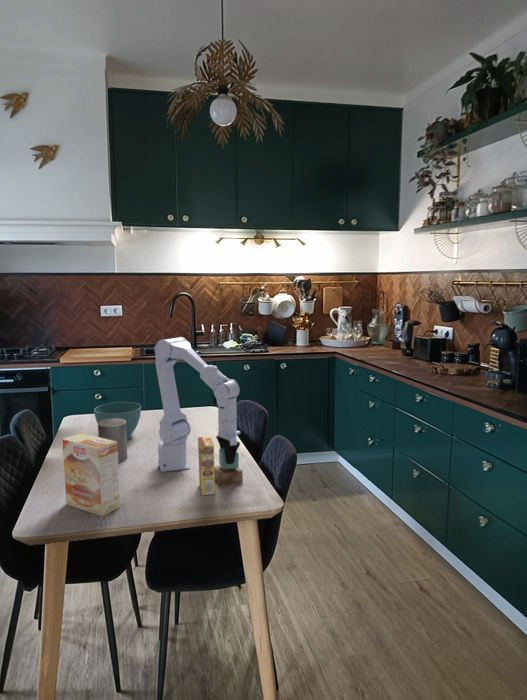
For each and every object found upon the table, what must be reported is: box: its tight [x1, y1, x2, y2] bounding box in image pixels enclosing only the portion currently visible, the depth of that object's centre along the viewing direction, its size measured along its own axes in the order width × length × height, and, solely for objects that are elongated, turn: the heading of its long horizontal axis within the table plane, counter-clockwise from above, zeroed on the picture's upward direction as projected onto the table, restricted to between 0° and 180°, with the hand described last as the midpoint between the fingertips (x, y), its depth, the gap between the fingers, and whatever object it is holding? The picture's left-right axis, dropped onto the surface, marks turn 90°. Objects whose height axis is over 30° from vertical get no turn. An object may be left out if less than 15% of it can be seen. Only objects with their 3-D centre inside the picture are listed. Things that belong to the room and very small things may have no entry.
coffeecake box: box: [61, 432, 121, 517], centre depth 144 cm, size 15×7×20 cm, turn 58°
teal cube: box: [218, 448, 240, 469], centre depth 163 cm, size 5×5×5 cm
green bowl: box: [93, 401, 142, 439], centre depth 207 cm, size 18×18×12 cm
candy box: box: [197, 436, 216, 496], centre depth 156 cm, size 9×4×15 cm, turn 13°
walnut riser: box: [214, 465, 244, 487], centre depth 164 cm, size 7×7×4 cm
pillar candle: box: [97, 418, 128, 464], centre depth 182 cm, size 10×10×15 cm
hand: (228, 460), depth 163 cm, fingers closed on teal cube, 5 cm apart
